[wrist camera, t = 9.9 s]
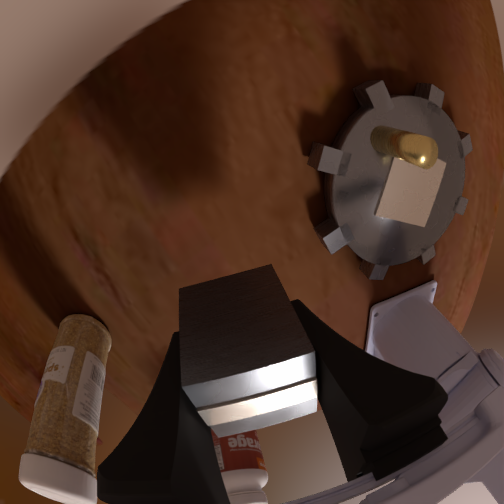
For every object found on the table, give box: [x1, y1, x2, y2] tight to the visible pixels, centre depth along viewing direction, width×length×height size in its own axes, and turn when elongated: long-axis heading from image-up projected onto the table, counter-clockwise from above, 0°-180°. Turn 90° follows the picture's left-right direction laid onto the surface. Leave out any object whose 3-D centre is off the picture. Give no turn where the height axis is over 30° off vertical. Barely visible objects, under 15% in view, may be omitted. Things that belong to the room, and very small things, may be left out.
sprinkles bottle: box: [19, 314, 112, 504], centre depth 13 cm, size 5×5×14 cm
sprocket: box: [307, 80, 473, 280], centre depth 16 cm, size 14×14×6 cm
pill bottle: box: [211, 429, 268, 504], centre depth 24 cm, size 6×6×11 cm
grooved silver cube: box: [179, 264, 318, 438], centre depth 11 cm, size 4×4×5 cm
